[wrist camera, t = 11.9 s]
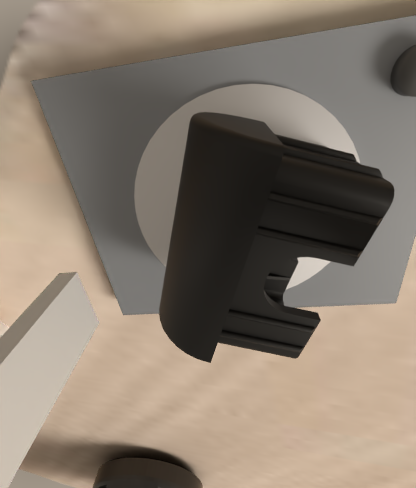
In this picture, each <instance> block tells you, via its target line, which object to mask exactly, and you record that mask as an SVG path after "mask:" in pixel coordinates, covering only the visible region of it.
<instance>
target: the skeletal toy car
mask: <svg viewBox="0 0 416 488" xmlns="http://www.w3.org/2000/svg"><path fill="white" fill-rule="evenodd" d="M9 328H10V327H9V326H7V325H6V324H4V323H3V322H1V321H0V337H1V336H2V335H3V334H4V333H5V332H6V331H7V330H8V329H9Z"/></svg>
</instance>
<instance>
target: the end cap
mask: <svg viewBox="0 0 416 488" xmlns="http://www.w3.org/2000/svg"><path fill="white" fill-rule="evenodd" d="M393 198H394V186H393V185H392V183H391V182H389V181H387V180H386V179H384V178H383V176H382V173H381V171H380V170H379V169H378V168H373V167H369V166H365V165H361V164H360V163H358V162H357V161H356V158H355V156H354V155H353V154H351V153H347V152H343V151H339V150H335V149H331V148H328V147H326V146H322V145H318V144H314V143H310V142H305V141H301V140H297V139H293V138H289V137H285V136H281V135H277V134H274V133H273V132H272V131H271V129H270V128H269V127H268V126H267V125H266V123H265V122H262V121H258V120H254V119H249V118H244V117H239V116H234V115H228V114H222V113H213V112H199V113H196V114H194V115H193V116H192V117H191V119H190V123H189V129H188V135H187V141H186V148H185V154H184V160H183V166H182V172H181V178H180V184H179V190H178V197H177V203H176V209H175V215H174V221H173V227H172V233H171V240H170V246H169V252H168V258H167V264H166V270H165V276H164V283H163V289H162V295H161V301H160V307H159V315H160V321H161V324H162V327H163V329H164V331H165V332H166V334H167V336H168V337H169V339H170V340H171V341H172V342H173V343H174V344H175V345H176V346H177V347H178V348H180V349H181V350H182V351H184V352H185V353H187V354H189V355H191V356H193V357H195V358H197V359H199V360H203V361H206V362H209V363H211V360H212V357H213V354H214V352H215V349H216V346H217V343H223V344H228V345H232V346H237V347H242V348H247V349H252V350H257V351H262V352H266V353H271V354H276V355H281V356H286V357H291V358H298V356H299V355H300V353H301V352H302V350H303V348H304V347H305V345H306V344H307V342H308V340H309V339H310V337H311V335H312V334H313V332H314V330H315V329H316V327H317V326H318V324H319V322H320V321H321V320H320V318H319V315H318V313H316V312H311V311H307V310H302V309H297V308H293V307H288V306H284V302H283V294H284V292H285V290H286V288H287V285H288V283H289V281H290V279H291V277H292V275H293V273H294V271H295V269H296V267H297V264H298V259H297V258H300V257H311V258H318V259H322V260H327V261H331V262H336V263H340V264H344V265H349V266H353V267H354V265H355V264H356V262H357V260H358V259H359V257H360V255H361V254H362V252H363V250H364V249H365V247H366V246H367V244H368V242H369V241H370V239H371V237H372V236H373V234H374V232H375V231H376V229H377V228H378V226H379V224H380V223H381V221H382V219H383V218H384V216H385V215H386V213H387V211H388V210H389V208H390V206H391V204H392V202H393Z"/></svg>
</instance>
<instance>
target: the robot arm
mask: <svg viewBox="0 0 416 488" xmlns="http://www.w3.org/2000/svg"><path fill="white" fill-rule="evenodd" d="M98 324H99V320H98V318H97V316H96V314H95V311H94V309H93V307H92V305H91V302H90V300H89V298H88V296H87V293H86V291H85V289H84V287H83V285H82V282H81V280H80V278H79V276H78V273H77V272H73V273H59V274H58V275H57V276H56V278H55V279H54V280H53V281H52V282H51V283H50V284H49V285H48V286H47V287H46V288H45V290H44V291H43V292H42V293H41V294H40V295H39V296H38V297H37V298H36V299H35V300H34V302H33V303H32V304H31V305H30V306H29V307H28V308H27V309H26V310H25V311H24V312H23V314H22V315H21V316H20V317H19V318H18V319H17V320H16V321H15V322H14V323H13V324H12V325H11V327H10V328H9V329H8V330H7V331H6V332H5V333H4V334H3V335H2V336H1V337H0V488H8V487H9V485H10V483H11V481H12V479H13V477H14V476H15V474H16V472H17V470H18V469H19V467H20V465H21V463H22V461H23V460H24V458H25V456H26V454H27V452H28V451H29V449H30V447H31V445H32V443H33V442H34V440H35V438H36V436H37V434H38V433H39V431H40V429H41V427H42V425H43V424H44V422H45V420H46V418H47V416H48V414H49V413H50V411H51V409H52V407H53V405H54V404H55V402H56V400H57V398H58V396H59V395H60V393H61V391H62V389H63V387H64V386H65V384H66V382H67V380H68V378H69V377H70V375H71V373H72V371H73V369H74V367H75V366H76V364H77V362H78V360H79V358H80V357H81V355H82V353H83V351H84V349H85V348H86V346H87V344H88V342H89V340H90V339H91V337H92V335H93V333H94V331H95V330H96V328H97V326H98ZM93 488H203V487H202V483H201V481H200V480H199V479H198V478H197V477H196V476H195V475H194V474H192V473H191V472H189V471H188V470H186V469H184V468H181V467H179V466H176V465H174V464H171V463H167V462H163V461H159V460H154V459H147V458H121V459H115V460H111V461H109V462H106V463H105V464H103V465H102V466H101V467H100V468H99V470H98V473H97V476H96V479H95V482H94V485H93Z"/></svg>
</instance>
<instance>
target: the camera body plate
mask: <svg viewBox="0 0 416 488" xmlns="http://www.w3.org/2000/svg"><path fill="white" fill-rule="evenodd" d="M31 83H32V85H33V88H34V90H35V93H36V95H37V98H38V100H39V103H40V105H41V108H42V110H43V113H44V116H45V118H46V121H47V123H48V126H49V128H50V131H51V133H52V136H53V138H54V141H55V143H56V146H57V148H58V151H59V154H60V156H61V159H62V161H63V164H64V166H65V169H66V171H67V174H68V176H69V179H70V181H71V184H72V187H73V189H74V192H75V194H76V197H77V199H78V202H79V204H80V207H81V209H82V212H83V214H84V217H85V220H86V222H87V225H88V227H89V230H90V232H91V235H92V237H93V240H94V242H95V245H96V247H97V250H98V252H99V255H100V258H101V260H102V263H103V265H104V268H105V270H106V273H107V275H108V278H109V280H110V283H111V285H112V288H113V291H114V293H115V296H116V298H117V301H118V303H119V306H120V308H121V311H122V313H123V315H136V314H159V307H160V301H161V295H162V289H163V283H164V276H165V270H166V264H167V258H168V252H169V246H170V240H171V233H172V227H173V221H174V215H175V209H176V203H177V197H178V190H179V184H180V178H181V172H182V166H183V160H184V154H185V148H186V141H187V135H188V129H189V123H190V119H191V117H192V116H193V115H194V114H196V113H199V112H213V113H222V114H228V115H234V116H239V117H244V118H249V119H254V120H258V121H262V122H265V123H266V125H267V126H268V127H269V128H270V129H271V131H272V132H273V133H274V134H277V135H281V136H285V137H289V138H293V139H297V140H301V141H305V142H310V143H314V144H318V145H322V146H326V147H328V148H331V149H335V150H339V151H343V152H347V153H351V154H353V155H354V156H355V158H356V161H357V162H358V163H360V164H361V165H365V166H369V167H373V168H378V169H379V170H380V171H381V173H382V176H383V178H384V179H386V180H387V181H389V182H391V183H392V185H393V186H394V198H393V202H392V204H391V206H390V208H389V210H388V211H387V213H386V215H385V216H384V218H383V219H382V221H381V223H380V224H379V226H378V228H377V229H376V231H375V232H374V234H373V236H372V237H371V239H370V241H369V242H368V244H367V246H366V247H365V249H364V250H363V252H362V254H361V255H360V257H359V259H358V260H357V262H356V264H355V265H354V267H353V266H349V265H344V264H340V263H336V262H331V261H327V260H322V259H318V258H311V257H300V258H297V259H298V264H297V267H296V269H295V271H294V273H293V275H292V277H291V279H290V281H289V283H288V285H287V288H286V290H285V292H284V294H283V302H284V306H288V307H293V308H298V307H321V306H344V305H367V304H390V303H396V302H397V298H398V295H399V291H400V288H401V284H402V281H403V277H404V274H405V270H406V267H407V263H408V260H409V256H410V253H411V249H412V246H413V242H414V239H415V235H416V15H414V16H409V17H403V18H397V19H391V20H385V21H379V22H373V23H368V24H362V25H356V26H350V27H344V28H338V29H332V30H326V31H321V32H315V33H309V34H303V35H297V36H291V37H285V38H280V39H274V40H268V41H262V42H256V43H250V44H244V45H238V46H233V47H227V48H221V49H215V50H209V51H203V52H197V53H192V54H186V55H180V56H174V57H168V58H162V59H156V60H150V61H145V62H139V63H133V64H127V65H121V66H115V67H109V68H104V69H98V70H92V71H86V72H80V73H74V74H68V75H62V76H57V77H51V78H45V79H39V80H33V81H31Z"/></svg>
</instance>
